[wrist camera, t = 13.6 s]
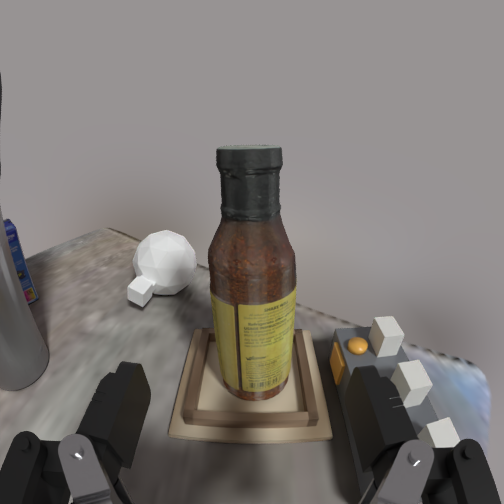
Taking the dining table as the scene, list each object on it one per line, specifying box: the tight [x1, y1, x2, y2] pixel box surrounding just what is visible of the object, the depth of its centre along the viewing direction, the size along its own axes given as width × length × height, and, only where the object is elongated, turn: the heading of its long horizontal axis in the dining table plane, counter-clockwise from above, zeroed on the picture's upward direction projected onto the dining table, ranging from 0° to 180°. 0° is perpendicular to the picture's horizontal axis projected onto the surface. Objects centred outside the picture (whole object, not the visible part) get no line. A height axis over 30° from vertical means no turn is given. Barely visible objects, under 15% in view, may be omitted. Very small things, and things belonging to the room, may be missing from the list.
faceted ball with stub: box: [128, 230, 197, 307], centre depth 37 cm, size 9×9×12 cm
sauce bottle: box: [208, 145, 296, 401], centre depth 21 cm, size 6×6×20 cm
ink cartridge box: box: [3, 219, 38, 304], centre depth 32 cm, size 10×6×14 cm, turn 56°
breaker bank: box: [328, 316, 460, 503], centre depth 18 cm, size 6×18×6 cm, turn 179°
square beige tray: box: [168, 328, 333, 444], centre depth 25 cm, size 13×14×2 cm
